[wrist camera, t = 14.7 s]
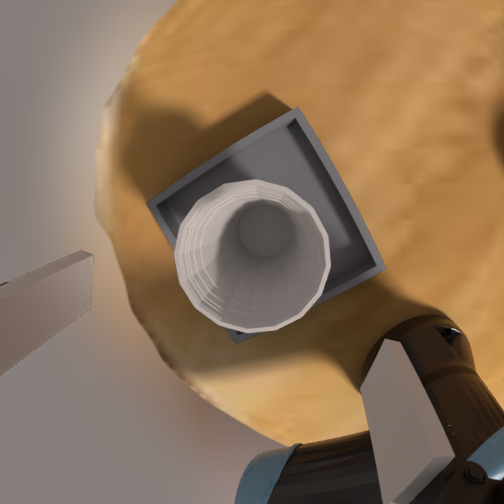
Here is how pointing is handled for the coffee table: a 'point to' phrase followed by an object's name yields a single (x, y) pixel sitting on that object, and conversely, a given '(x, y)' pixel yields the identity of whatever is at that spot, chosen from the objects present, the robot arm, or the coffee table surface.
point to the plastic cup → (252, 256)
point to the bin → (297, 180)
